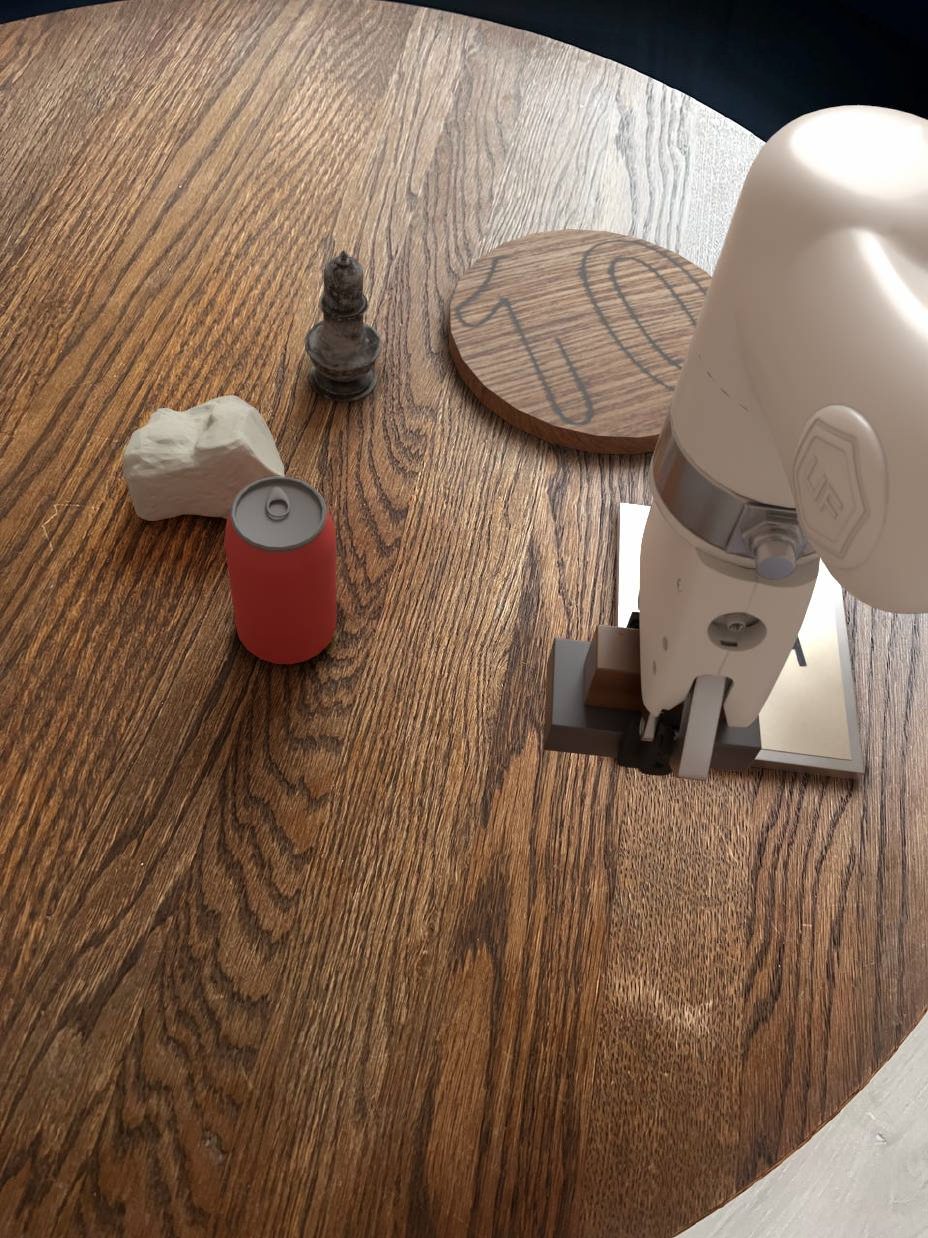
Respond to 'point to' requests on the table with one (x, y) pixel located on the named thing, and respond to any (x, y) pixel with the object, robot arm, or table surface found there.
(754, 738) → the eraser
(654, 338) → the trivet
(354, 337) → the dark chess piece
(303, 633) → the beer can
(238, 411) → the decorative stone
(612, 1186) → the table surface
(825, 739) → the whiteboard
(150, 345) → the table surface
